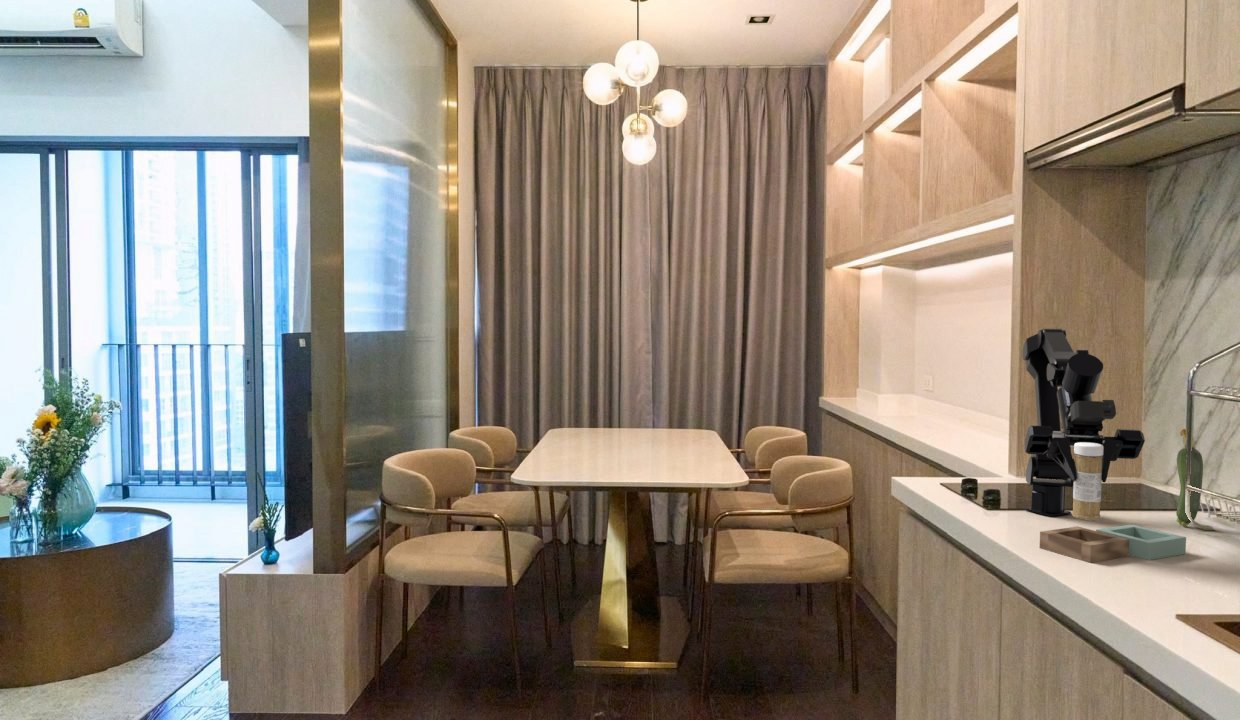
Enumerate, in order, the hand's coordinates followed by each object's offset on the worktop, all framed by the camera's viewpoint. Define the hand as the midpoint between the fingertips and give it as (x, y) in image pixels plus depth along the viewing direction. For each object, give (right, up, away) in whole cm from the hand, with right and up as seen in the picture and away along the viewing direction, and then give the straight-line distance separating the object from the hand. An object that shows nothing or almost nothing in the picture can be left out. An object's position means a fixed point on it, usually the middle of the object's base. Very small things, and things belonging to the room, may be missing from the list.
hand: (1089, 480), depth 148 cm
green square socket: (+11, -13, +4) cm, 18 cm away
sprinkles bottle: (0, -7, +2) cm, 7 cm away
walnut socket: (0, -13, +2) cm, 13 cm away
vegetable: (+31, -13, +20) cm, 39 cm away
